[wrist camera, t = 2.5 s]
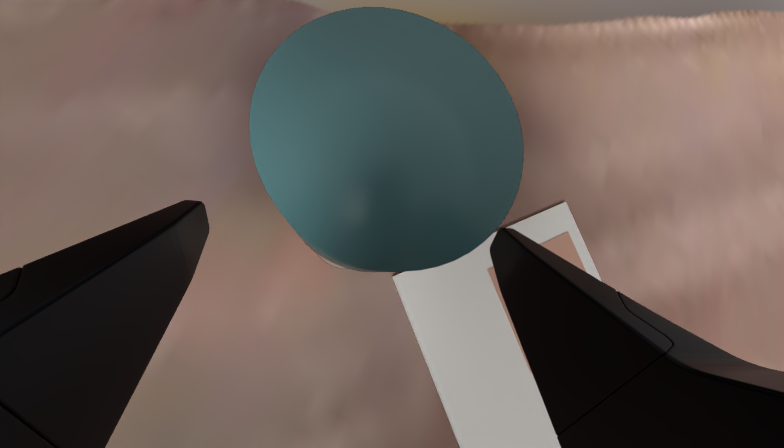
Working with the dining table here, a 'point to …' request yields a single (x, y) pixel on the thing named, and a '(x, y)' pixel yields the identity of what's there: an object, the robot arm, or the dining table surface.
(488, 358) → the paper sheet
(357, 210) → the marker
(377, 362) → the dining table surface
